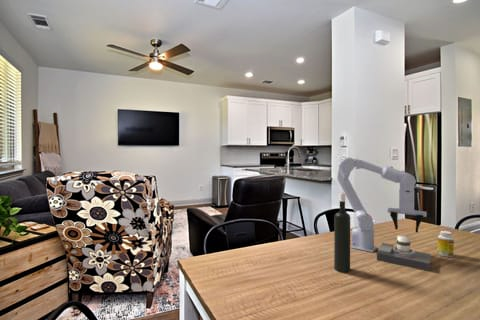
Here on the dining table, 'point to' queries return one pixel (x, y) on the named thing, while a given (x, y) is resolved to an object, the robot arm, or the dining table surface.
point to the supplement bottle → (445, 244)
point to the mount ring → (411, 254)
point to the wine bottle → (342, 238)
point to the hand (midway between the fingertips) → (406, 230)
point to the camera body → (404, 258)
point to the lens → (403, 243)
